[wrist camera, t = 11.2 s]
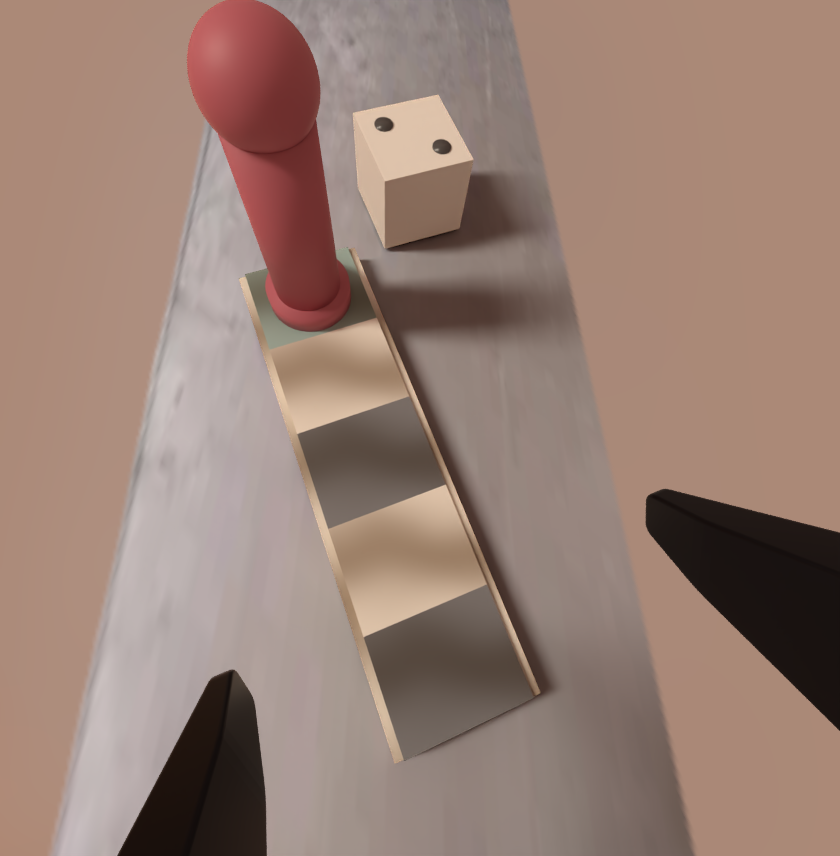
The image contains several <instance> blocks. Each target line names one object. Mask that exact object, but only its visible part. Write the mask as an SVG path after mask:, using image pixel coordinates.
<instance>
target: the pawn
mask: <svg viewBox="0 0 840 856" xmlns="http://www.w3.org/2000/svg"><path fill="white" fill-rule="evenodd" d="M187 67H188V68H187V69H188V77H189V82H190V86H191V89H192V93H193V96H194V98H195V100H196V103H197V105H198V107H199V109H200V110H201V112H202V114H203V115H204V117H205V118H206V120H207V121H208V123H209V124H210V125H211V126H212V128H213V129H214V130H215V131H216V132H217V133H218V136H219V138H220V141H221V144H222V146H223V149H224V152H225V155H226V157H227V160H228V163H229V165H230V168H231V171H232V174H233V176H234V179H235V182H236V184H237V187H238V190H239V193H240V195H241V198H242V201H243V203H244V206H245V209H246V212H247V214H248V217H249V220H250V222H251V225H252V228H253V231H254V233H255V236H256V239H257V241H258V244H259V247H260V250H261V252H262V255H263V258H264V260H265V263H266V266H267V269H268V271H269V272H268V275H267V277H266V283H265V288H266V294H267V297H268V299H269V302H270V304H271V307H272V309H273V311H274V313H275V315H276V316H277V318H278V319H279V320H280V321H281V322H282V323H284V324H285V325H287V326H288V327H290V328H293V329H295V330H299V331H305V332H315V331H321V330H324V329H327V328H329V327H331V326H333V325H335V324H336V323H338V322H339V321H340V320H341V319H342V318H343V317H344V316H345V314H346V313H347V311H348V309H349V306H350V303H351V290H350V282H349V276H348V273H347V271H346V269H345V267H344V266H343V264H342V263H341V262H340V261H339V260H337V258H336V251H335V244H334V238H333V231H332V224H331V218H330V211H329V204H328V197H327V191H326V184H325V177H324V170H323V164H322V157H321V150H320V144H319V137H318V130H317V123H316V117H317V114H318V109H319V104H320V81H319V75H318V70H317V66H316V63H315V60H314V57H313V54H312V52H311V50H310V48H309V46H308V44H307V42H306V41H305V39H304V38H303V36H302V34H301V33H300V32H299V31H298V29H297V28H296V27H295V26H294V25H293V23H292V22H290V21H289V20H288V19H287V18H286V17H285V16H284V15H283V14H281V13H280V12H279V11H277V10H276V9H274V8H272V7H271V6H269V5H267V4H264V3H262V2H259V1H255V0H226V1H223V2H220V3H218V4H217V5H215V6H213V7H212V8H210V9H209V10H208V11H207V12H206V13H205V14H204V15H203V16H202V17H201V18H200V20H199V21H198V22H197V24H196V26H195V28H194V30H193V32H192V35H191V38H190V42H189V46H188V54H187Z"/></svg>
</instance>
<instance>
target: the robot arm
mask: <svg viewBox="0 0 840 856" xmlns="http://www.w3.org/2000/svg"><path fill="white" fill-rule="evenodd" d="M646 527H647V529H648V531H649V533H650V535H651V536H652V537H653V538H654V539H655V541H656V542H657V543H658V544H659V545H660V547H661V548H662V549H663V550H664V551H665V553H666V554H667V555H668V556H669V557H670V559H671V560H672V561H673V562H674V563H675V565H676V566H677V567H678V568H679V569H680V570H681V572H682V573H683V574H684V575H685V576H686V578H687V579H688V580H689V581H690V582H691V583H692V585H693V586H694V587H695V588H696V589H697V590H698V591H699V592H700V593H701V594H702V595H703V596H704V597H705V598H706V599H707V600H708V601H709V602H710V603H711V604H712V605H713V606H714V607H715V608H716V609H717V610H718V611H719V612H720V613H721V614H722V615H723V616H724V617H725V618H726V619H727V620H728V621H729V622H730V623H731V624H732V625H733V626H734V627H735V628H736V629H737V630H738V631H739V632H740V633H741V634H742V635H743V636H744V637H745V638H746V639H747V640H748V641H749V642H750V643H751V644H752V645H753V646H755V648H756V649H757V650H758V651H759V652H760V653H761V654H762V655H763V656H765V658H766V659H767V660H769V661H770V662H771V663H772V665H774V666H775V667H776V668H777V669H778V670H779V671H780V672H781V673H782V674H783V675H784V676H785V677H786V678H787V679H788V680H789V681H790V682H791V683H792V684H793V685H794V686H795V687H796V688H797V689H798V690H799V691H800V692H801V693H802V694H803V695H804V696H805V697H806V698H807V699H808V700H809V701H810V702H811V703H812V704H813V705H814V706H815V707H816V708H817V709H818V710H819V711H820V712H821V713H822V714H823V715H825V717H826V718H827V719H828V720H829V721H830V722H831V723H832V724H833V725H834V726H835V727H836V728H837V729H838V730H839V731H840V533H839V532H835V531H831V530H827V529H824V528H820V527H815V526H812V525H807V524H804V523H800V522H796V521H792V520H788V519H784V518H780V517H776V516H772V515H768V514H764V513H760V512H756V511H752V510H748V509H744V508H740V507H736V506H732V505H729V504H724V503H720V502H717V501H713V500H709V499H705V498H701V497H697V496H693V495H689V494H685V493H681V492H677V491H673V490H669V489H662V490H659V491H657V492H654V493H652V494H650V495H648V497H647V499H646ZM117 856H267V843H266V796H265V785H264V776H263V767H262V759H261V751H260V743H259V734H258V726H257V718H256V709H255V704H254V700H253V697H252V695H251V693H250V691H249V690H248V688H247V687H246V685H245V683H244V682H243V680H242V679H241V677H240V676H239V674H238V673H237V672H236V671H235V670H229V671H226V672H224V673H221V674H219V675H217V676H214V677H213V678H212V679H211V680H210V681H209V682H208V684H207V686H206V688H205V690H204V692H203V694H202V695H201V697H200V699H199V701H198V703H197V705H196V707H195V709H194V711H193V713H192V714H191V716H190V718H189V720H188V722H187V724H186V726H185V728H184V730H183V732H182V734H181V735H180V737H179V739H178V741H177V743H176V745H175V747H174V749H173V751H172V753H171V754H170V756H169V758H168V760H167V762H166V764H165V766H164V768H163V770H162V772H161V773H160V775H159V777H158V779H157V781H156V783H155V785H154V787H153V789H152V791H151V792H150V794H149V796H148V798H147V800H146V802H145V804H144V806H143V808H142V810H141V812H140V813H139V815H138V817H137V819H136V821H135V823H134V825H133V827H132V829H131V831H130V832H129V834H128V836H127V838H126V840H125V842H124V844H123V846H122V848H121V850H120V851H119V853H118V855H117Z"/></svg>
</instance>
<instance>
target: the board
mask: <svg viewBox="0 0 840 856" xmlns="http://www.w3.org/2000/svg"><path fill="white" fill-rule="evenodd" d="M335 251H336V258H337V260H339V261H340V262H341V263H342V264H343V266H344V267H345V269H346V271H347V273H348V276H349V282H350V290H351V303H350V306H349V309H348V311H347V313H346V314H345V316H344V317H343V318H342V319H341V320H340V321H339V322H338V323H336V324H335V325H333V326H331V327H329V328H327V329H324V330H321V331H315V332H305V331H299V330H295V329H293V328H290V327H288V326H287V325H285V324H284V323H282V322H281V321H280V320H279V319H278V318H277V316H276V315H275V313H274V311H273V309H272V307H271V304H270V302H269V299H268V297H267V294H266V288H265V283H266V277H267V275H268V272H269V271H268V269H264V270H260V271H256V272H252V273H249V274H245V276H246V277H243V278H239V281H240V284H241V287H242V290H243V293H244V296H245V299H246V302H247V306H248V309H249V312H250V315H251V318H252V321H253V324H254V327H255V330H256V334H257V337H258V340H259V343H260V346H261V349H262V352H263V355H264V358H265V362H266V365H267V368H268V371H269V374H270V377H271V380H272V383H273V386H274V390H275V393H276V396H277V399H278V402H279V405H280V408H281V411H282V414H283V417H284V421H285V424H286V427H287V430H288V433H289V436H290V439H291V442H292V445H293V449H294V452H295V455H296V458H297V461H298V464H299V467H300V470H301V473H302V477H303V480H304V483H305V486H306V489H307V492H308V495H309V498H310V501H311V505H312V508H313V511H314V514H315V517H316V520H317V523H318V526H319V529H320V533H321V536H322V539H323V542H324V545H325V548H326V551H327V554H328V557H329V561H330V564H331V567H332V570H333V573H334V576H335V579H336V582H337V585H338V589H339V592H340V595H341V598H342V601H343V604H344V607H345V610H346V613H347V617H348V620H349V623H350V626H351V629H352V632H353V635H354V638H355V641H356V645H357V648H358V651H359V654H360V657H361V660H362V663H363V666H364V669H365V673H366V676H367V679H368V682H369V685H370V688H371V691H372V694H373V697H374V701H375V704H376V707H377V710H378V713H379V716H380V719H381V722H382V725H383V729H384V732H385V735H386V738H387V741H388V744H389V747H390V750H391V753H392V757H393V760H394V763H395V764H396V763H398V762H400V761H402V760H404V761H405V760H407V759H409V758H412V757H414V756H416V755H418V754H420V753H422V752H424V751H426V750H428V749H430V748H432V747H434V746H436V745H438V744H440V743H442V742H444V741H447V740H449V739H451V738H453V737H455V736H457V735H459V734H461V733H463V732H465V731H467V730H469V729H471V728H473V727H475V726H477V725H479V724H482V723H484V722H486V721H488V720H490V719H492V718H494V717H496V716H498V715H500V714H502V713H504V712H506V711H508V710H510V709H512V708H514V707H517V706H519V705H521V704H523V703H525V702H527V701H529V700H531V699H533V698H534V696H536V695H538V694H540V690H539V688H538V685H537V683H536V681H535V678H534V676H533V673H532V671H531V669H530V666H529V664H528V662H527V659H526V657H525V654H524V652H523V650H522V647H521V645H520V642H519V640H518V638H517V635H516V633H515V630H514V628H513V626H512V623H511V621H510V618H509V616H508V614H507V611H506V609H505V607H504V604H503V602H502V599H501V597H500V595H499V592H498V590H497V587H496V585H495V583H494V580H493V578H492V575H491V573H490V571H489V568H488V566H487V564H486V561H485V559H484V556H483V554H482V552H481V549H480V547H479V544H478V542H477V540H476V537H475V535H474V532H473V530H472V528H471V525H470V523H469V520H468V518H467V516H466V513H465V511H464V509H463V506H462V504H461V501H460V499H459V497H458V494H457V492H456V489H455V487H454V485H453V482H452V480H451V477H450V475H449V473H448V470H447V468H446V466H445V463H444V461H443V458H442V456H441V454H440V451H439V449H438V446H437V444H436V442H435V439H434V437H433V434H432V432H431V430H430V427H429V425H428V422H427V420H426V418H425V415H424V413H423V411H422V408H421V406H420V403H419V401H418V399H417V396H416V394H415V391H414V389H413V387H412V384H411V382H410V379H409V377H408V375H407V372H406V370H405V368H404V365H403V363H402V360H401V358H400V356H399V353H398V351H397V348H396V346H395V344H394V341H393V339H392V336H391V334H390V332H389V329H388V327H387V324H386V322H385V320H384V317H383V315H382V313H381V310H380V308H379V305H378V303H377V301H376V298H375V296H374V293H373V291H372V289H371V286H370V284H369V281H368V279H367V277H366V274H365V272H364V270H363V267H362V265H361V262H360V260H359V258H358V255H357V253H356V250H355V248H351V249H348V247H346V248H342V249H339V250H335Z"/></svg>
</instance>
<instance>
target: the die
mask: <svg viewBox="0 0 840 856" xmlns="http://www.w3.org/2000/svg"><path fill="white" fill-rule="evenodd" d="M353 123H354V137H355V152H356V166H357V181H358V189H359V191H360V194H361V196H362V198H363V200H364V203H365V205H366V207H367V209H368V212H369V214H370V216H371V219H372V221H373V223H374V225H375V228H376V230H377V232H378V234H379V237H380V239H381V241H382V243H383V246H384V248H385V249H386V248H390V247H393V246H397V245H401V244H404V243H408V242H412V241H415V240H419V239H423V238H427V237H430V236H434V235H438V234H441V233H445V232H449V231H452V230H456V229H460V224H461V219H462V214H463V209H464V204H465V199H466V194H467V190H468V185H469V180H470V175H471V170H472V165H473V160H474V159H473V158H472V156H471V154H470V152H469V150H468V149H467V147H466V145H465V143H464V141H463V139H462V138H461V136H460V134H459V132H458V130H457V128H456V127H455V125H454V123H453V121H452V119H451V117H450V116H449V114H448V112H447V110H446V108H445V107H444V105H443V103H442V101H441V99H440V97H439V96H438V95H435V96H430V97H425V98H421V99H416V100H411V101H406V102H402V103H397V104H392V105H388V106H383V107H378V108H374V109H369V110H364V111H360V112H355V113H353Z"/></svg>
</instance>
